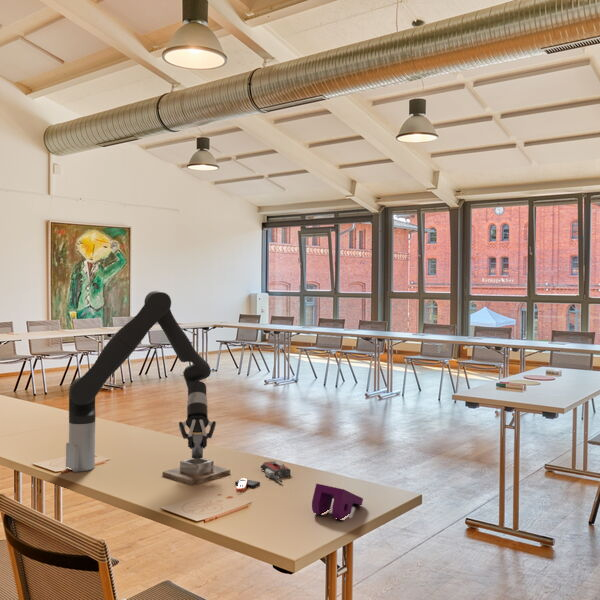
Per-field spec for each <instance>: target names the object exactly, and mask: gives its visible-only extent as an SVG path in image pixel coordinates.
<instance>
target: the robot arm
mask: <svg viewBox="0 0 600 600" xmlns="http://www.w3.org/2000/svg"><path fill="white" fill-rule="evenodd" d="M171 299H172V298H171V297H170V295H169V294H168V293H166V292H164V291H161V290H153V291H149V292H148V293H147V294H146V296H145V297H144V305H143V306H142V307H141V309H140V310H139V312H138V313H137V314H136V315H135V316H134V317H133V318H132V319H130V320H129V321H128V322H127V323H126V324H124V325H123V326H122V327H121V328H120V329H118V331H117V332H115V334H114V335H113V336H112V337H111V338H110V340H109V341H108V342H107V343H106V344H105V346H104V347H103V349H102V350H101V352H100V353H99V355H98V357H97V359H96V360H95V362H94V364H92V366H91V367H90V368H89V369H88V370H87V371H86V372H85V373H84V374H83V375H82V376H81V377H80V376H79V377H78V378H75V379H74V380H73V381H72V382H71V383H70V384H69V387H68V388H69V389H68V442H66V444H65V468H66V467H69V468H71V469H72V471H71V472H74V473H77V472H86V471H87V472H88V471H91V470H93V469H94V468H95V466H96V465H95V464H96V462H95V461H96V459H95V458H96V454H95V453H96V417H97V416H96V397H97V395H98V393H99V392H100V390H101V389H102V388H103V387H104V385H105V383H106V382H107V380H108V379H109V378H110V377H111V376H112V375H113V374H114V373H115V372H116V371H117V370H118V369H119V368H120V367H121V366H122V365H123V364H124V363H125V361H126V360H127V359H128V358H129V357H130V356H131V355H132V353H134V352H135V350H136V349H137V348H138V346H139V345H140V343H141V342H142V341H143V340H144V338H145V337H146V336H147V334H148V332H150V330H151V329H152V328H153V327H154V326H155V325H156V324H157V323H158V325H159V327H160V328H161V329H162V331H163V332H164V335H165V336H166V338H167V340H168V342H169V343H170V346H171V347H172V350H173V351H174V353H175V354H176V356H177V358H178V359H179V362H181V363H192V364H190V365H187V366H186V367H185V369H184V371H183V378H184V381H185V383H186V387H187V401H186V402H187V404H186V420H185V421H184V422H182V421H179V423H178V429H179V431H180V433H181V436H182V439H184V440H187V447H188V448H189V450H192V432H194V431H202V432H203V450H204V449H206V448H207V447H208V442H207V441H208V439H212V436H213V434H214V432H215V428H216V423H217V422H216V421H215V420H214V421H210V420H209V416H208V399H207V398H208V397H207V386H206V383H205V382H204V381H203V380H206V379H207V378H208V377H209V378H210V376H211V374H212V373H211V367H210V364H209V363H208V362H207V360H205V358H203V357H202V356H201V355H200V354H199V353H198V352H197V351H196V349H195V347H194V346H193V344H192V341H191V340H190V339H189V337H188V335H186V333H185V331H184V330H183V328H182V327H181V326H180V324H179V323H178V322H177V320H176V318H175V317H174V314H173V313H172V310H171V307H172V300H171ZM186 427H187V428H188V429H189V432H188V433H187V431H186V429H185V428H186ZM207 427H209V431H208V433H207V431H206V428H207Z"/></svg>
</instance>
